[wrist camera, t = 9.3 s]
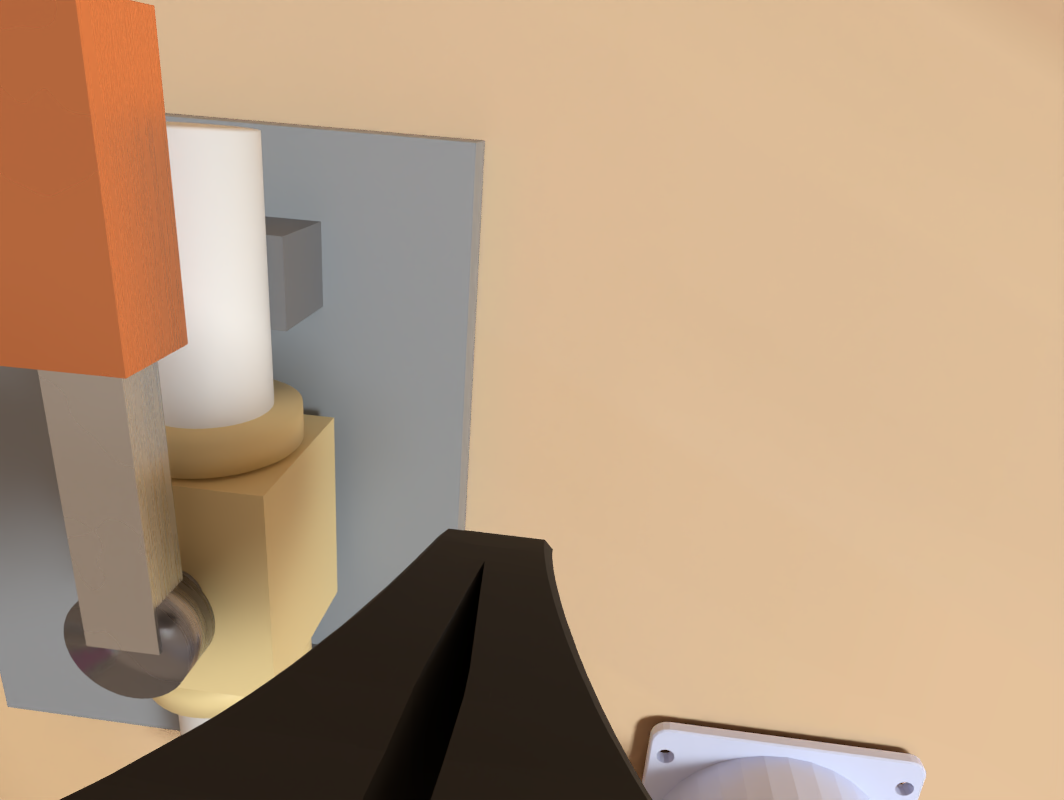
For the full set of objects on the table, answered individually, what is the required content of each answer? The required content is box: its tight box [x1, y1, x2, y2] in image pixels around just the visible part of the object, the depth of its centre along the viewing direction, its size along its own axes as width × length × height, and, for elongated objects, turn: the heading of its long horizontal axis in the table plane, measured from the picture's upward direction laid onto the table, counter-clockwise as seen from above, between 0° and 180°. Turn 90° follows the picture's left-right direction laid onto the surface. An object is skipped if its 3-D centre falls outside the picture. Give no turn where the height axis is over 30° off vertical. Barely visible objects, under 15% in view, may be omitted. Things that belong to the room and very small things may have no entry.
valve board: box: [0, 113, 485, 735], centre depth 18 cm, size 18×14×6 cm
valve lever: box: [0, 0, 215, 699], centre depth 13 cm, size 12×2×2 cm, turn 176°
